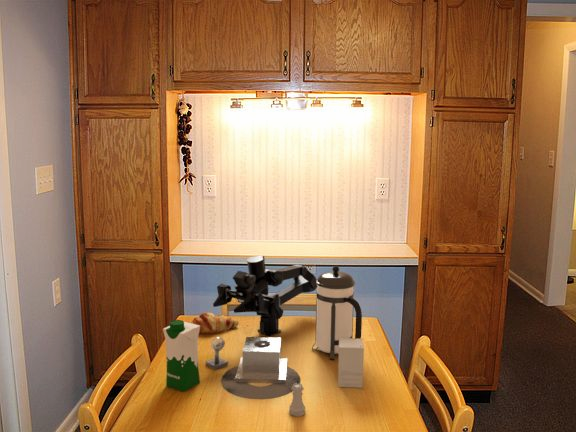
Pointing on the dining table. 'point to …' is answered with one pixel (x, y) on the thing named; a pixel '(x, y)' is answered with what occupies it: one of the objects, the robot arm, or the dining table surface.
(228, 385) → the platter
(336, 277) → the coffee press
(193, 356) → the milk carton
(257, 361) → the cover
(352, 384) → the supplement box
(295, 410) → the rook chess piece
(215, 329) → the croissant
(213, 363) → the rubber stamp
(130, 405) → the dining table surface
